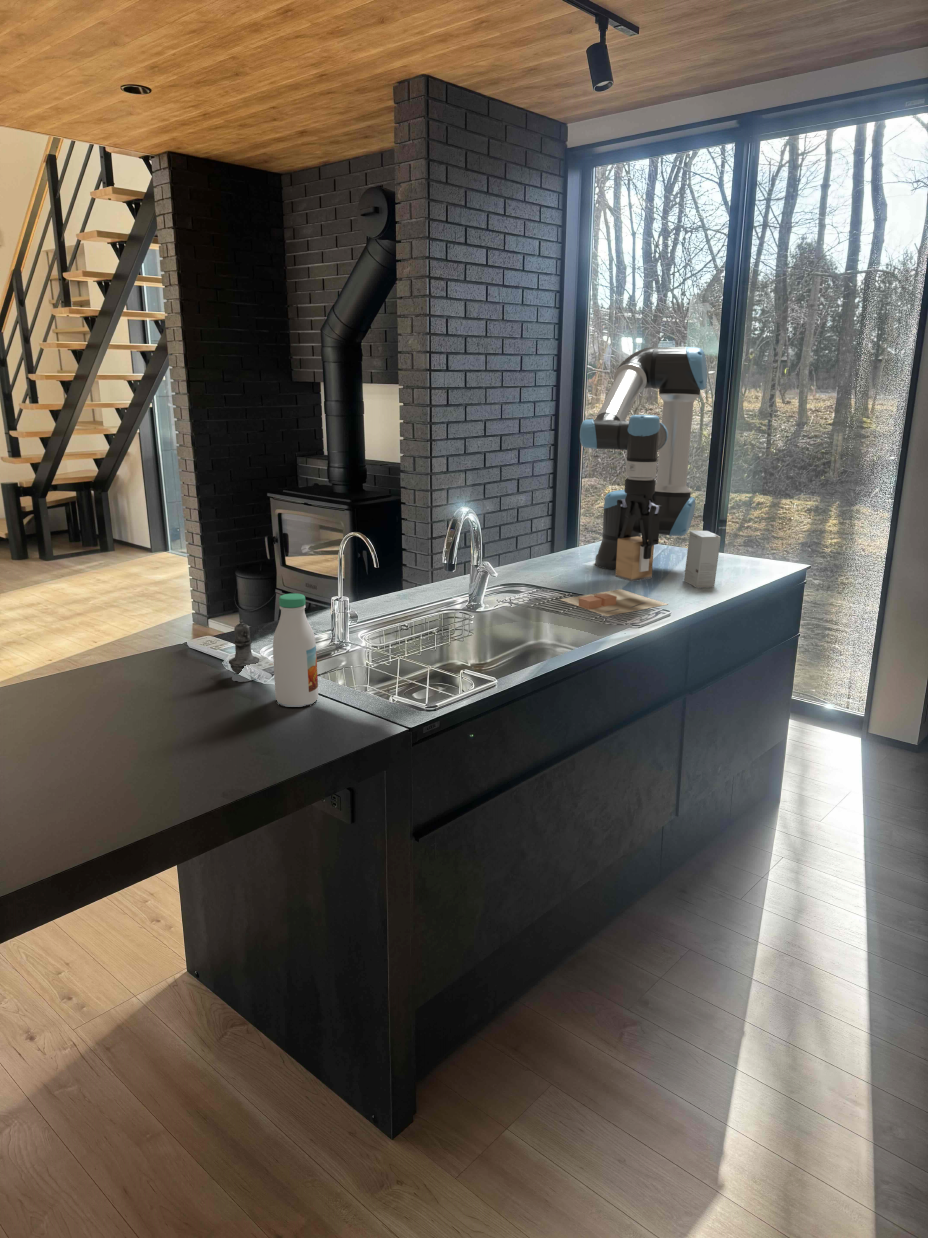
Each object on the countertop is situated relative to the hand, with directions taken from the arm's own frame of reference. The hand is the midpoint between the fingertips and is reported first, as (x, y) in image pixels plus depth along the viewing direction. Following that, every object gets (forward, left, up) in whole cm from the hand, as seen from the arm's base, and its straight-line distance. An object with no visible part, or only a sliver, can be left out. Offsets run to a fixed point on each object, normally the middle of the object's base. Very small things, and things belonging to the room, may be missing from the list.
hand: (634, 568), depth 223 cm
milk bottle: (+100, +19, -10) cm, 102 cm away
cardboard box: (0, 0, -2) cm, 2 cm away
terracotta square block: (+9, 0, -8) cm, 12 cm away
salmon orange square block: (+14, 0, -8) cm, 16 cm away
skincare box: (-31, -5, -10) cm, 33 cm away
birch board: (+6, 0, -9) cm, 11 cm away
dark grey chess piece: (+104, +2, -10) cm, 105 cm away
